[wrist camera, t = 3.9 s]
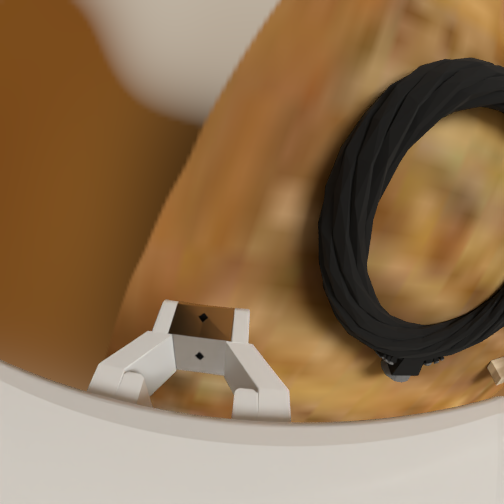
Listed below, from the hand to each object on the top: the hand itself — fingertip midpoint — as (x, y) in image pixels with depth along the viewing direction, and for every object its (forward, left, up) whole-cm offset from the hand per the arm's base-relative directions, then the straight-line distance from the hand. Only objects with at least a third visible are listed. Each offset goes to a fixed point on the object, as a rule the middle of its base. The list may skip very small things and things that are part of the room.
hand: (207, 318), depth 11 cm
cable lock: (0, -19, -12) cm, 23 cm away
